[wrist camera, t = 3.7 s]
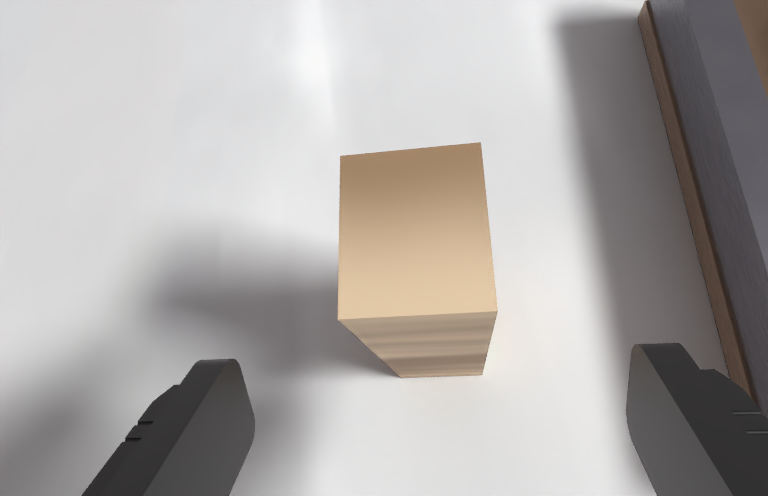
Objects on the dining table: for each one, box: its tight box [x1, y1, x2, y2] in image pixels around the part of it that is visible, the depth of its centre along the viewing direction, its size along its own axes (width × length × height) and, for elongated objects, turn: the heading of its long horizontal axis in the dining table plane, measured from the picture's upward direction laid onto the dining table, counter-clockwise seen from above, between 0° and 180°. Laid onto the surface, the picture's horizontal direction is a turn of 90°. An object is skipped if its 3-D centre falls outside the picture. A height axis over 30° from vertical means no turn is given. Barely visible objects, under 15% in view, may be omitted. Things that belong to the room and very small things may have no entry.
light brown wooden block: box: [338, 142, 498, 378], centre depth 15 cm, size 4×3×10 cm
